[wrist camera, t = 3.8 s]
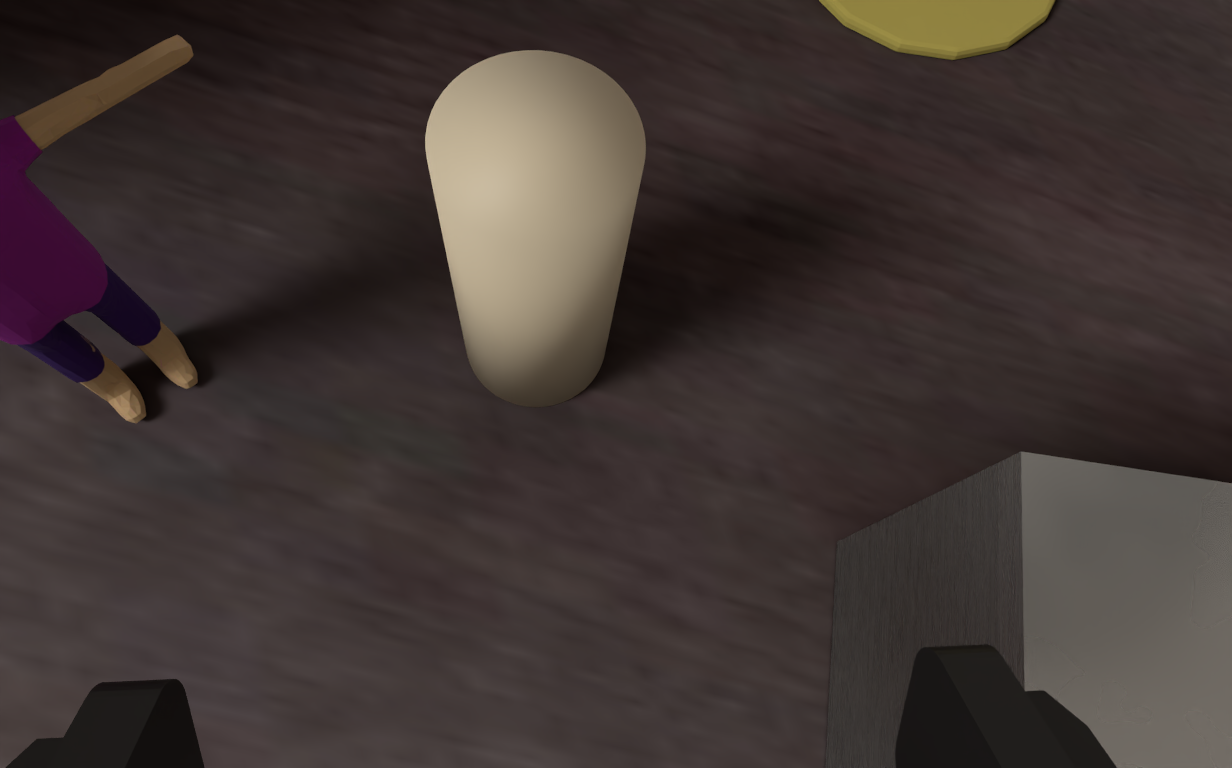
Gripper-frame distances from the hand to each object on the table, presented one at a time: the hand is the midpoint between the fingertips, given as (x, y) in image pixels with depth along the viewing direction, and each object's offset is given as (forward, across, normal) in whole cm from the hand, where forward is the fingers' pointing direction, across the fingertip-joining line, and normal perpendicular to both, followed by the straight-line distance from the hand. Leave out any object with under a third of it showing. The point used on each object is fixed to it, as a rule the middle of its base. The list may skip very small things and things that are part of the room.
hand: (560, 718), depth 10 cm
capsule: (+16, 0, +3) cm, 17 cm away
